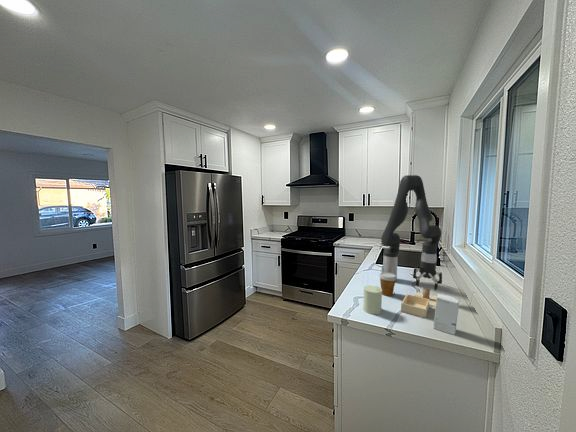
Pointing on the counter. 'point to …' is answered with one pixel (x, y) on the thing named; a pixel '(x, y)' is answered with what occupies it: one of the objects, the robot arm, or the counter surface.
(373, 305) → the can
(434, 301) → the lid
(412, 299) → the tan shallow open box
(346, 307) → the counter surface
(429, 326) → the counter surface
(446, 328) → the skincare box
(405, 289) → the counter surface
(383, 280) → the disposable coffee cup
